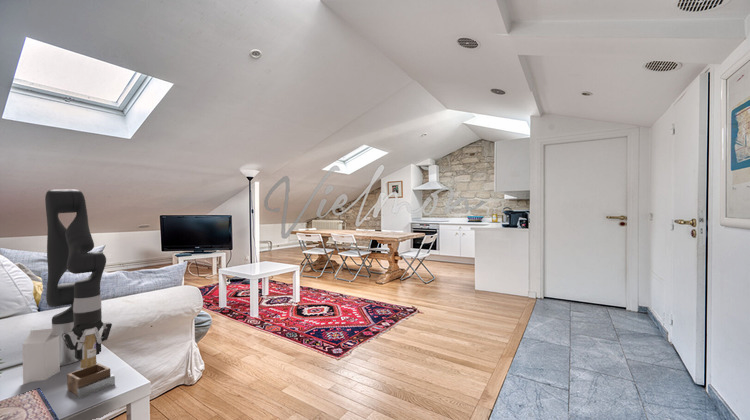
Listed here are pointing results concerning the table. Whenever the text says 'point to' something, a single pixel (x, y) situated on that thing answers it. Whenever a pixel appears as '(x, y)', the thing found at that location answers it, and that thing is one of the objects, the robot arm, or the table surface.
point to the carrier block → (86, 376)
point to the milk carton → (40, 355)
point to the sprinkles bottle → (89, 349)
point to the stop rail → (95, 386)
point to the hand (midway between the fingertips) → (88, 356)
